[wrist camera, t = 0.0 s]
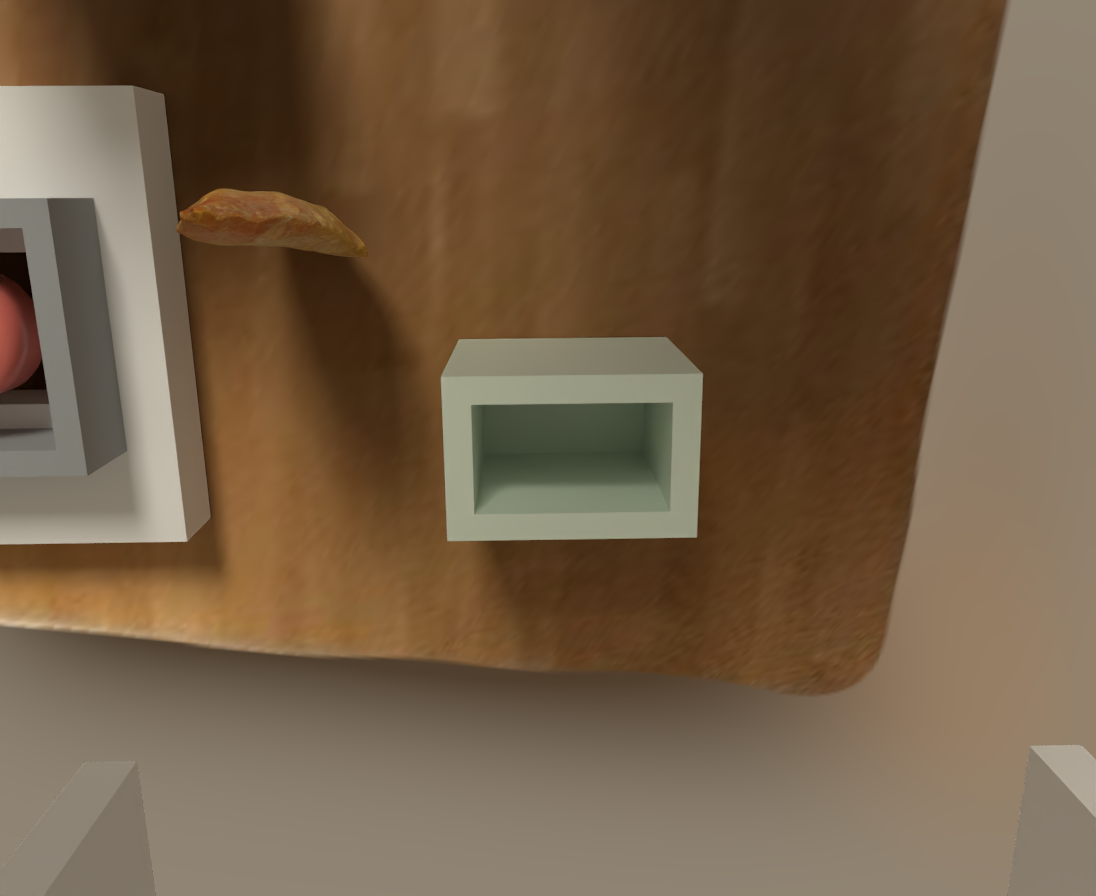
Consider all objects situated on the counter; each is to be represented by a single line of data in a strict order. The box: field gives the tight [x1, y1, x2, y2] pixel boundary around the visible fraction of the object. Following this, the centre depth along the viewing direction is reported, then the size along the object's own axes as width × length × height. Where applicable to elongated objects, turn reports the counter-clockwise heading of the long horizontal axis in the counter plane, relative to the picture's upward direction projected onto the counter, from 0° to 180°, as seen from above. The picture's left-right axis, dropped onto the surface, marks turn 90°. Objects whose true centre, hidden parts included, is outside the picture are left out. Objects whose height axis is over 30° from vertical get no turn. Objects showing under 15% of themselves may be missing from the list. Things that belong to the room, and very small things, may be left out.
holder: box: [441, 337, 703, 541], centre depth 36 cm, size 6×9×9 cm, turn 90°
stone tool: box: [176, 189, 368, 258], centre depth 31 cm, size 5×2×15 cm, turn 83°
